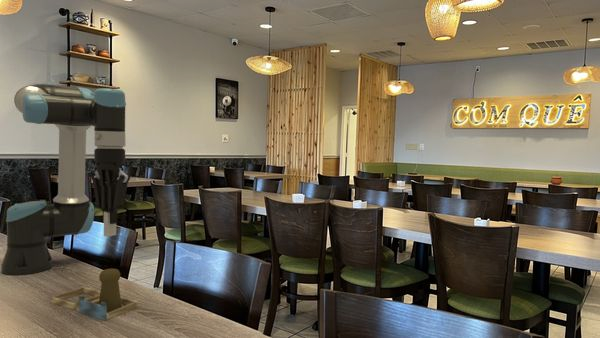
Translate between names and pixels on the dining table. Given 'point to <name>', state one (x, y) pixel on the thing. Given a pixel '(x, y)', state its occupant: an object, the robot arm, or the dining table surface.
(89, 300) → the caddy
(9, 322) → the dining table surface
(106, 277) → the cork
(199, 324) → the dining table surface
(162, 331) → the dining table surface
